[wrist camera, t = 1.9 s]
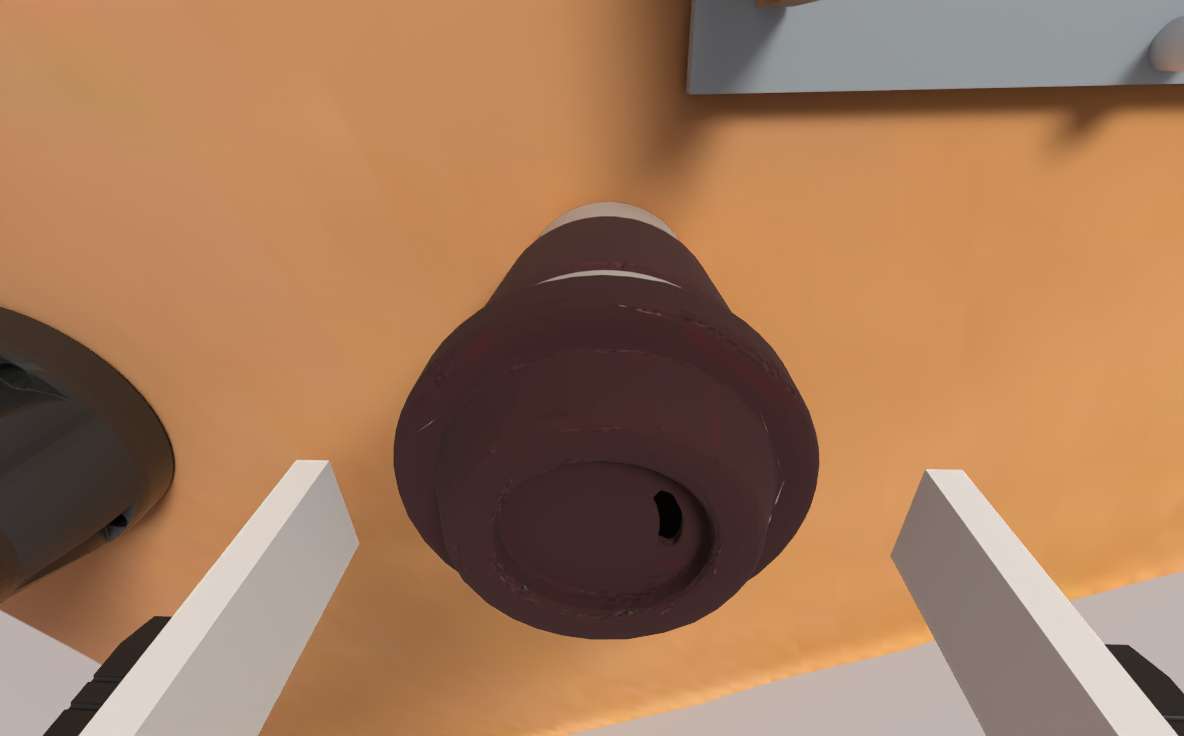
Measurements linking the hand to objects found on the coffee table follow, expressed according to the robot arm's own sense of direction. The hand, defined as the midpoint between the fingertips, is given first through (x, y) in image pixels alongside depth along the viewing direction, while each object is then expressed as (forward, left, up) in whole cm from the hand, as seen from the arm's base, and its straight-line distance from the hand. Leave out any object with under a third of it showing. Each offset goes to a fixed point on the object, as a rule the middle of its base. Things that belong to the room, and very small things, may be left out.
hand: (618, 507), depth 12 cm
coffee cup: (0, 0, -14) cm, 14 cm away
